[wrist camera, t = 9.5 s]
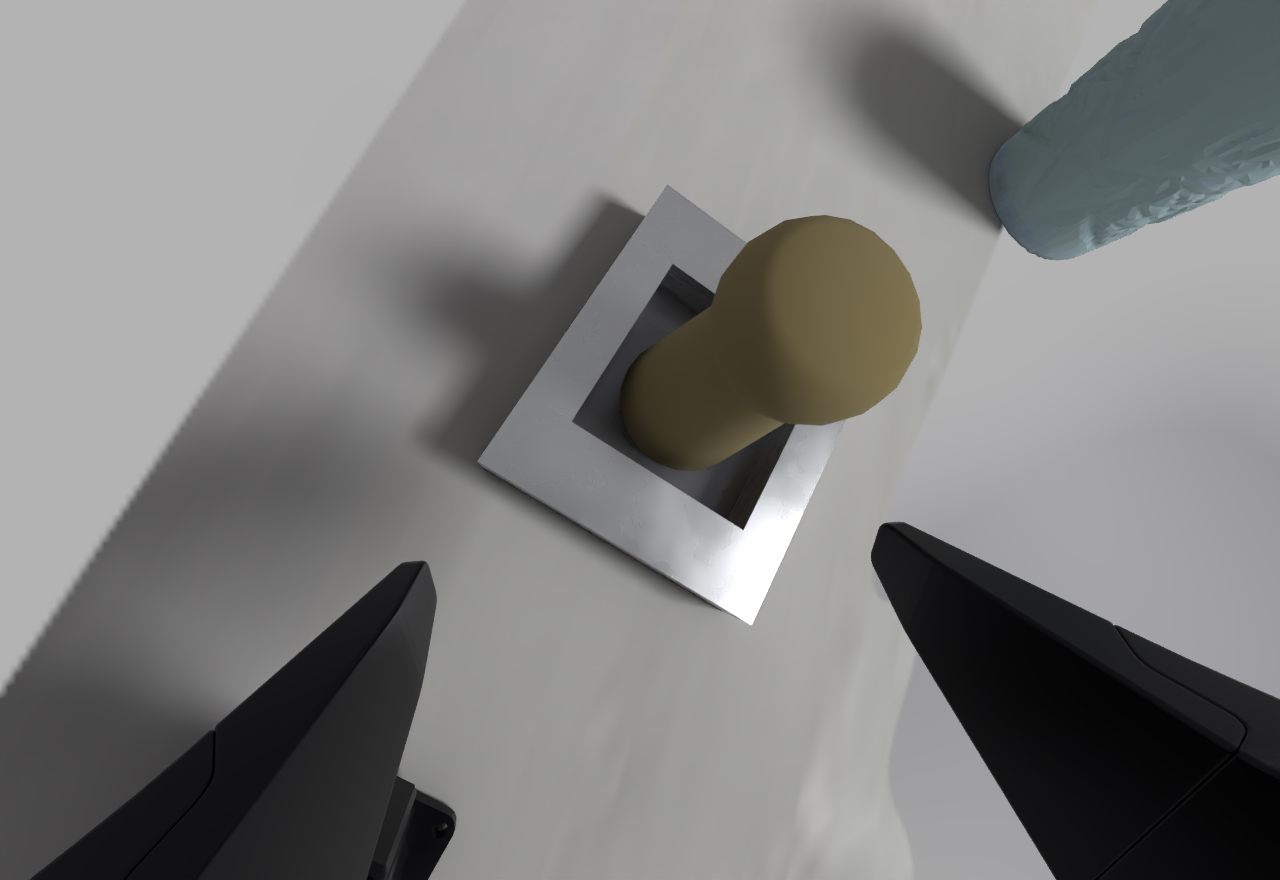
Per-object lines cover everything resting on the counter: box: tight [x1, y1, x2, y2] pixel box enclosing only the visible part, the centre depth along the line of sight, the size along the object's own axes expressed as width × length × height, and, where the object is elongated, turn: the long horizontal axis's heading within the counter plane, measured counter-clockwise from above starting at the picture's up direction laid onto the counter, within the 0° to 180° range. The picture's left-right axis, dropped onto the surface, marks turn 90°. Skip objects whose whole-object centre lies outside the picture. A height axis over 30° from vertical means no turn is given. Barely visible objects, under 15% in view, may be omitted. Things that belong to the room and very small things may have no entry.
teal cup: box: [989, 0, 1280, 260], centre depth 24 cm, size 10×10×12 cm
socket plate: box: [478, 185, 846, 625], centre depth 20 cm, size 14×12×3 cm
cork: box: [621, 215, 922, 471], centre depth 16 cm, size 6×6×11 cm
